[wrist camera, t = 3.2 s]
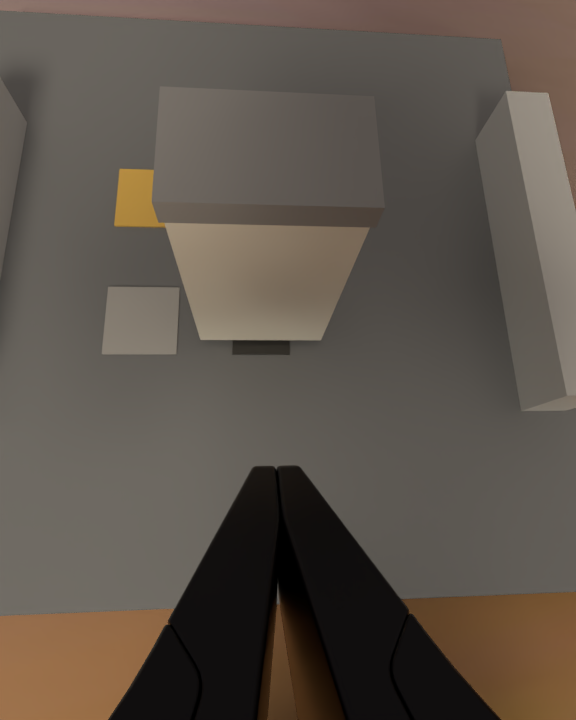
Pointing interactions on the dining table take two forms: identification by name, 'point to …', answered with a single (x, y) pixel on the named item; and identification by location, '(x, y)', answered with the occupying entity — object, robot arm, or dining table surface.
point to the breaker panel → (281, 357)
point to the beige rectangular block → (265, 204)
